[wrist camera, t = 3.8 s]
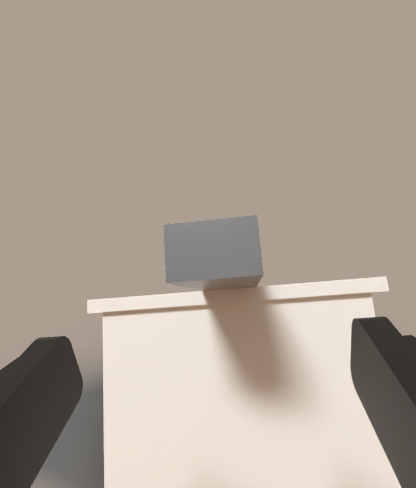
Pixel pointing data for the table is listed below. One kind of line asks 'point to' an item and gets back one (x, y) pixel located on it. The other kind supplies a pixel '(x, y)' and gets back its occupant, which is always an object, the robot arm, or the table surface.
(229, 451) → the tall stand
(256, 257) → the bar
